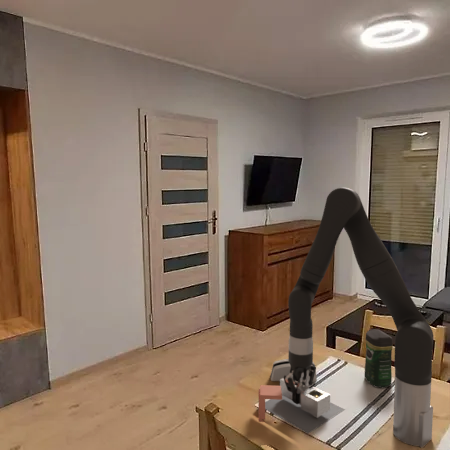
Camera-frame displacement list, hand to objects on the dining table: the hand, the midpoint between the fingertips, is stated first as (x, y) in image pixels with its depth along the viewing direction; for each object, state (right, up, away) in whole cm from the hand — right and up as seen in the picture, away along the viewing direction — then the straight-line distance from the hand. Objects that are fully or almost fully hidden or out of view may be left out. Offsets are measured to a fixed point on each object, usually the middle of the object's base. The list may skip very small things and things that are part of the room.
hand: (299, 400), depth 127 cm
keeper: (-9, -3, -3) cm, 10 cm away
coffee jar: (+31, -1, +17) cm, 36 cm away
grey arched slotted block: (+1, -1, +18) cm, 18 cm away
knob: (+4, -3, -5) cm, 7 cm away
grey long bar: (+1, 0, -1) cm, 1 cm away
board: (+1, -3, 0) cm, 3 cm away
